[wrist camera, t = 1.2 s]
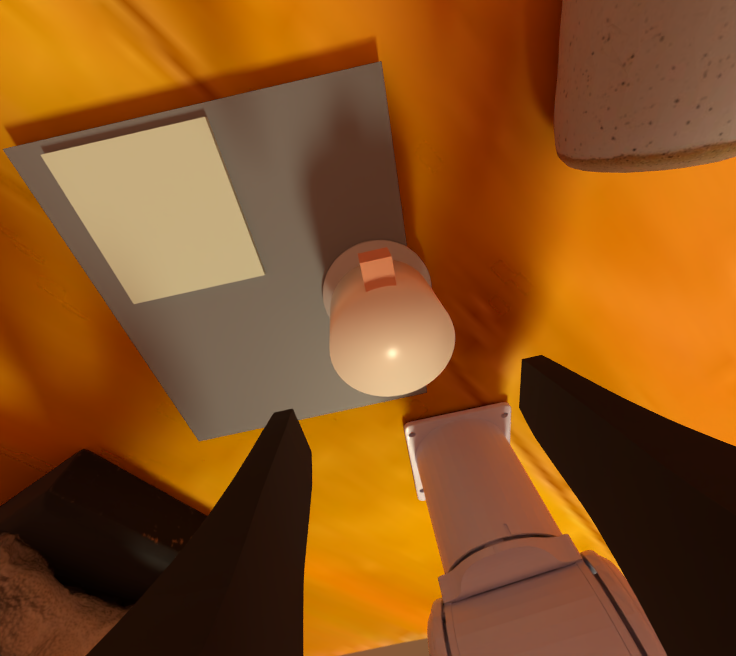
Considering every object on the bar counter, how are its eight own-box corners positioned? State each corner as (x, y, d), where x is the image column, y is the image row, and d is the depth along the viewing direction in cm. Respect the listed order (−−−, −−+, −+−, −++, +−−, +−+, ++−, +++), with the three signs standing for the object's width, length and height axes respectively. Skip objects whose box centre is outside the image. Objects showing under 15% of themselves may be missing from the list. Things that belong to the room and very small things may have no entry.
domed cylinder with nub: (436, 340, 18) (458, 382, 15) (343, 360, 18) (345, 406, 15) (424, 224, 15) (448, 247, 12) (311, 250, 15) (305, 279, 12)
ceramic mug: (520, 172, 17) (648, 192, 10) (522, -58, 13) (743, -280, 6) (725, 119, 17) (993, 105, 10) (796, -131, 12) (1336, -442, 6)
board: (438, 381, 23) (450, 410, 21) (203, 432, 23) (188, 466, 21) (401, 59, 14) (416, 42, 12) (18, 148, 14) (-46, 150, 12)
